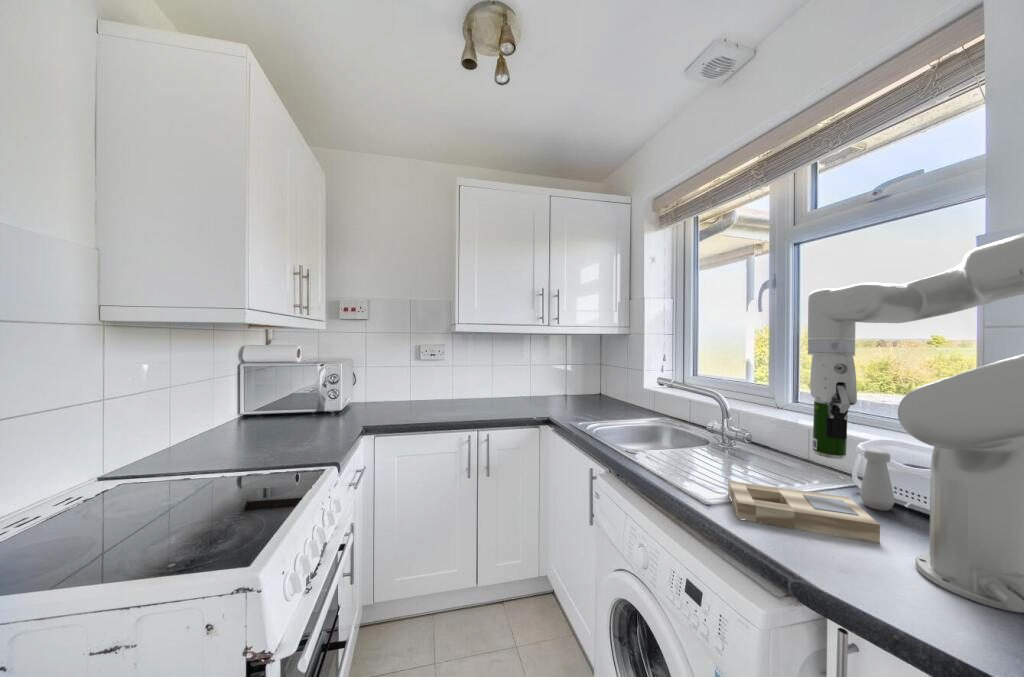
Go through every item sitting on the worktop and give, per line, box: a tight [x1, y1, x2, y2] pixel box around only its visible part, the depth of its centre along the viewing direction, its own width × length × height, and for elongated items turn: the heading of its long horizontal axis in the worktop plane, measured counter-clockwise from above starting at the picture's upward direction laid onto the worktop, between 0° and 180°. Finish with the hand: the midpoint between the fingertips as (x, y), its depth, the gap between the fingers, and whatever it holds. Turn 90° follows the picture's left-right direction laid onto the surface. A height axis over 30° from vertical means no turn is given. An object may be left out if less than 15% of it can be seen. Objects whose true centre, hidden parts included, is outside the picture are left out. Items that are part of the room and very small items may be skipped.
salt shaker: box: [859, 448, 896, 512], centre depth 84 cm, size 6×6×13 cm
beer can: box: [812, 397, 849, 460], centre depth 77 cm, size 5×5×12 cm
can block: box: [727, 480, 881, 544], centre depth 80 cm, size 13×23×4 cm, turn 67°
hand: (829, 433), depth 77 cm, fingers closed on beer can, 5 cm apart
